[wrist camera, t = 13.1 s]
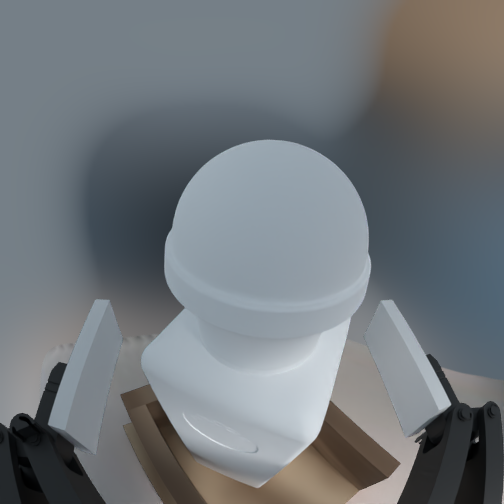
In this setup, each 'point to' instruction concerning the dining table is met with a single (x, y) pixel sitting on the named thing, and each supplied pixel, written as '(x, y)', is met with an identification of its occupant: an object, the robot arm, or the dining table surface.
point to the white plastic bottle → (258, 305)
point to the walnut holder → (273, 491)
